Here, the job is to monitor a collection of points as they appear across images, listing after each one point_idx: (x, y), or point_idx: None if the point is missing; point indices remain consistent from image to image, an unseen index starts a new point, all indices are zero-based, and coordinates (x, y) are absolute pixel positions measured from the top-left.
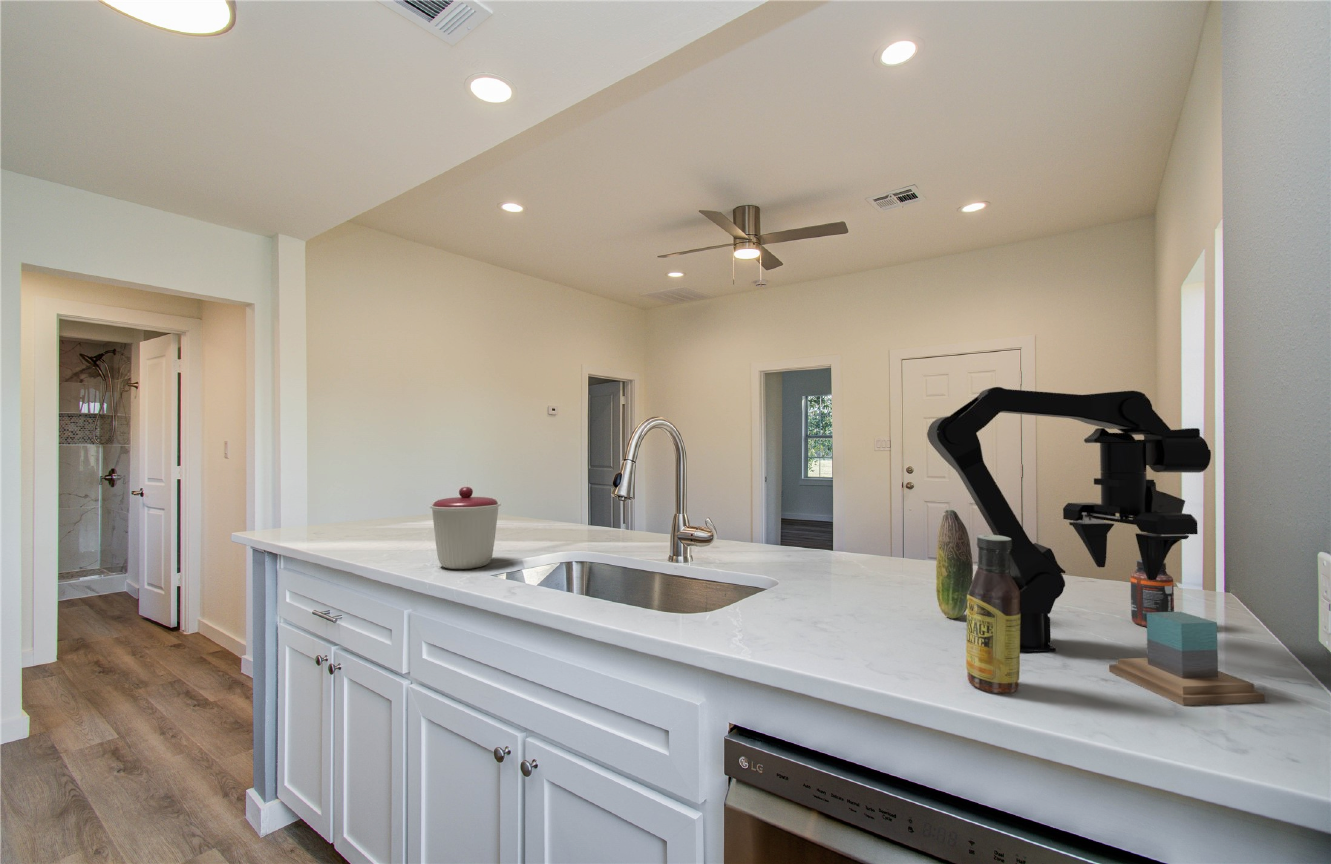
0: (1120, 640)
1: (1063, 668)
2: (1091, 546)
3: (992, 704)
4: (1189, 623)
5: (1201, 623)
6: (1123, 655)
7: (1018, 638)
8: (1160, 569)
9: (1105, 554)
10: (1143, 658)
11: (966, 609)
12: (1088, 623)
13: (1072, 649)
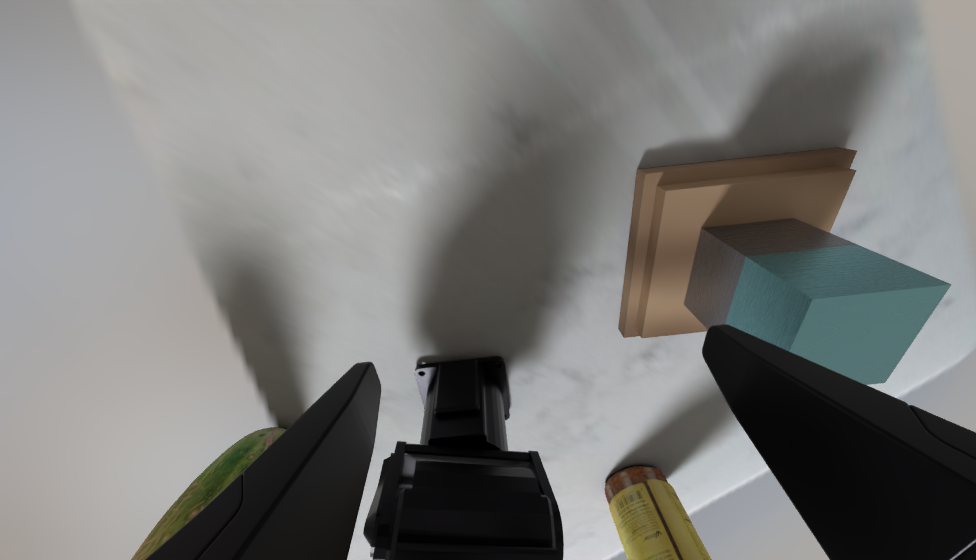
0: (403, 156)
1: (588, 384)
2: (348, 547)
3: (678, 494)
4: (897, 362)
5: (916, 329)
6: (530, 238)
7: (707, 554)
8: (796, 355)
9: (342, 421)
10: (651, 288)
11: (277, 437)
12: (209, 131)
13: (486, 319)
